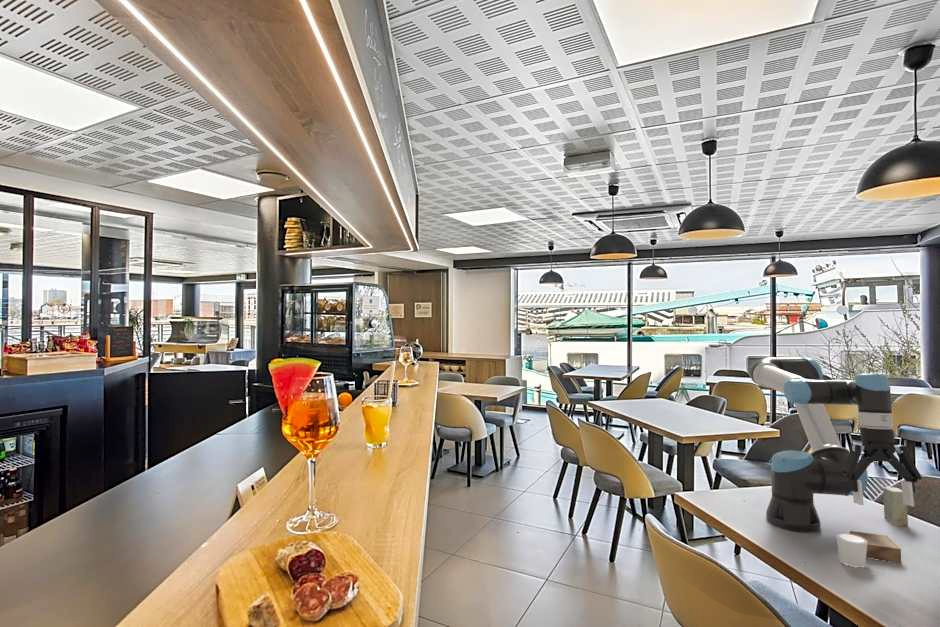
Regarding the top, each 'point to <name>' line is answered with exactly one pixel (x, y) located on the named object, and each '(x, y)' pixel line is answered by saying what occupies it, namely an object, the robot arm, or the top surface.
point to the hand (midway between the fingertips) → (883, 504)
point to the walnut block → (880, 547)
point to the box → (894, 506)
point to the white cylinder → (852, 549)
